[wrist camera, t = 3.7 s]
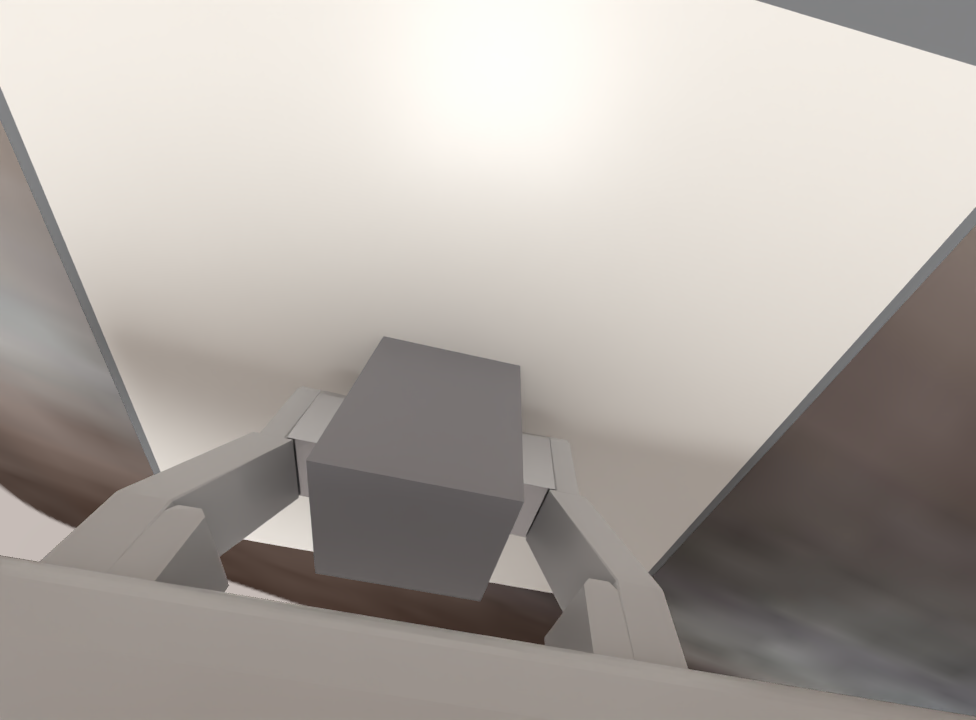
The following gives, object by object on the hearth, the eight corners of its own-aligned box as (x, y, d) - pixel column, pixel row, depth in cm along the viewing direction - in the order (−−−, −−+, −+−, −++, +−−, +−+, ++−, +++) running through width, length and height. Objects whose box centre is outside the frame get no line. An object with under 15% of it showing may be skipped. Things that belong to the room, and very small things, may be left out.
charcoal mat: (1103, 46, 6) (1145, 39, 6) (624, 591, 17) (627, 603, 17) (-161, -349, 5) (-224, -393, 5) (185, 514, 16) (176, 524, 15)
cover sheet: (1030, 98, 6) (1843, 50, 2) (615, 589, 16) (648, 737, 12) (-84, -232, 5) (-1914, -1334, 1) (195, 515, 15) (83, 652, 11)
